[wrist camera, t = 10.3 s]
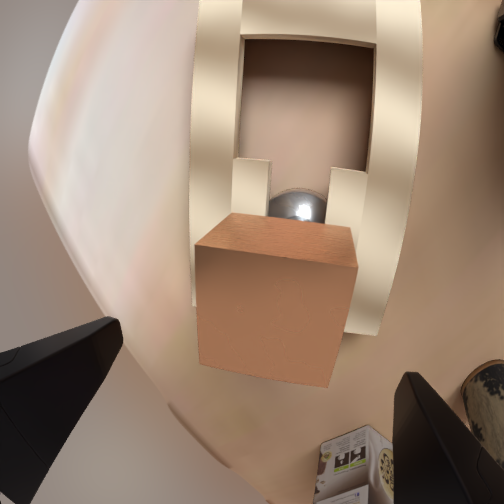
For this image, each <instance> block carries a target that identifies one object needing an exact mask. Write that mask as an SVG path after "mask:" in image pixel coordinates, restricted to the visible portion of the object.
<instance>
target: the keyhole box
mask: <svg viewBox="0 0 504 504" xmlns="http://www.w3.org/2000/svg"><path fill="white" fill-rule="evenodd" d="M245 39H288V40H307V41H320V42H331V43H340V44H348V45H355V46H362V47H368V48H374V70H373V94H372V110H371V124H370V135H369V146H368V156H367V165H366V172H364V171H357V170H350V169H343V168H336V167H331V172H330V182H329V191H328V199H327V208H326V216H325V223H324V224H330V225H337V226H345V227H350V229H351V233H352V238H353V242H354V247H355V252H356V257H357V262H358V267H359V268H358V273H357V278H356V282H355V287H354V291H353V296H352V300H351V304H350V308H349V313H348V317H347V321H346V325H345V329H344V332H348V333H356V334H365V335H373V336H377V334H378V331H379V328H380V325H381V321H382V318H383V315H384V312H385V308H386V305H387V302H388V298H389V295H390V291H391V287H392V284H393V280H394V276H395V272H396V268H397V264H398V260H399V256H400V252H401V247H402V243H403V238H404V233H405V228H406V224H407V218H408V213H409V208H410V202H411V196H412V190H413V183H414V177H415V170H416V162H417V154H418V145H419V134H420V123H421V108H422V86H423V40H422V20H421V6H420V0H200V2H199V11H198V21H197V31H196V42H195V55H194V69H193V84H192V103H191V127H190V166H189V230H190V270H191V295H192V306H194V307H196V286H195V250H194V244H196V243H197V242H198V241H199V240H200V239H201V238H202V237H204V236H205V235H206V234H207V233H208V232H209V231H211V230H212V229H213V228H214V227H215V226H216V225H218V224H219V223H220V222H221V221H222V220H223V219H225V218H226V217H227V216H228V215H229V214H230V213H232V212H233V213H242V214H251V215H259V216H268V212H269V198H270V184H271V169H272V160H263V159H250V158H238V153H239V133H240V114H241V96H242V79H243V62H244V46H245Z"/></svg>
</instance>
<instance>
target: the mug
mask: <svg viewBox="0 0 504 504" xmlns="http://www.w3.org/2000/svg"><path fill="white" fill-rule="evenodd" d="M461 395H462V397H463V401H464V405H465V410H466V415H467V419H468V422H469V426H470V429H471V432H472V434H473V435H474V436H475V437H476V438H477V439H478V441H479V442H480V443H481V444H482V446H484V448H485V449H486V450H487V451H488V452H489V454H490V455H491V456H492V457H493V458H494V459H495V461H496V462H497V463H498V464H499V465H500V466H501V467H502V468H503V469H504V360H500V359H499V360H492V361H489V362H486V363H484V364H482V365H481V366H479V367H478V368H476V369H475V370H474V371H473V372H472V373H471V374H470V375H469V376H468V377H467V378H466V380H465V381H464V383H463V385H462V389H461ZM482 446H481V447H482Z"/></svg>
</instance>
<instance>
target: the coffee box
mask: <svg viewBox="0 0 504 504" xmlns="http://www.w3.org/2000/svg"><path fill="white" fill-rule="evenodd" d="M393 499H394V477H393V444H392V443H390V442H389V441H388V440H387V439H385V438H384V437H383V436H381V435H380V434H379V433H378V432H376V431H375V430H374V429H373V428H371V427H370V426H369V425H367V426H364V427H362V428H360V429H357V430H355V431H353V432H350V433H348V434H345V435H343V436H340V437H338V438H335V439H332V440H330V441H327V442H324V443H322V444H321V448H320V457H319V465H318V472H317V479H316V486H315V493H314V499H313V504H393Z"/></svg>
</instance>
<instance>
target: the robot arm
mask: <svg viewBox="0 0 504 504" xmlns="http://www.w3.org/2000/svg"><path fill="white" fill-rule="evenodd" d="M497 18H498V21H499V25H498V28H497V32H496V35H495V38H494V42H495V44H496V46H497V47H498V48H499V49H500V50H501V51H502V52H504V0H502V3H501V7H500V10H499V14H498V17H497ZM499 40H500V41H501V42H502V44H501V43H500V41H499ZM122 344H123V335H122V330H121V325H120V322H119V320H118V319H116V318H113V317H109V316H107V317H104V318H101V319H98V320H96V321H93V322H90V323H87V324H84V325H81V326H78V327H75V328H72V329H69V330H67V331H64V332H61V333H58V334H55V335H52V336H49V337H47V338H44V339H41V340H38V341H35V342H32V343H29V344H26V345H23V346H21V347H17V348H14V349H11V350H8V351H5V352H2V353H0V494H1V493H3V494H4V495H5V496H6V497H7V498H9V499H10V500H11V501H12V502H14V503H15V504H30V503H31V501H32V499H33V497H34V496H35V494H36V492H37V490H38V488H39V487H40V485H41V483H42V481H43V480H44V478H45V476H46V474H47V473H48V471H49V468H50V467H51V465H52V463H53V462H54V460H55V458H56V457H57V455H58V453H59V452H60V450H61V448H62V447H63V445H64V443H65V442H66V440H67V438H68V437H69V435H70V433H71V431H72V430H73V429H74V427H75V425H76V424H77V422H78V420H79V419H80V417H81V415H82V414H83V412H84V411H85V409H86V408H87V406H88V404H89V403H90V401H91V400H92V398H93V397H94V395H95V394H96V392H97V390H98V389H99V387H100V386H101V384H102V383H103V381H104V379H105V378H106V376H107V374H108V372H109V370H110V368H111V366H112V364H113V362H114V360H115V358H116V356H117V354H118V353H119V351H120V349H121V347H122ZM392 443H393V477H394V499H393V504H504V469H503V468H502V467H501V466H500V465H499V464H498V463H497V462H496V461H495V459H494V458H493V457H492V456H491V455H490V454H489V452H488V451H487V450H486V449H485V448H484V446H482V444H481V443H480V442H479V441H478V439H477V438H476V437H475V436H474V435H473V434H472V432H471V431H470V430H469V429H468V428H467V427H466V425H465V424H464V423H463V422H462V421H461V420H460V418H459V417H458V416H457V415H456V414H455V413H454V412H453V410H452V409H451V408H450V407H449V406H448V405H447V404H446V402H445V401H444V400H443V399H442V398H441V397H440V396H439V395H438V393H437V392H436V391H435V390H434V389H433V388H432V387H431V386H430V385H429V383H428V382H427V381H426V380H425V379H424V378H423V377H422V376H421V375H420V374H419V373H418V372H405V373H404V375H403V377H402V379H401V381H400V383H399V385H398V387H397V389H396V391H395V396H394V419H393V439H392ZM481 446H482V447H481ZM0 504H1V501H0Z"/></svg>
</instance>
